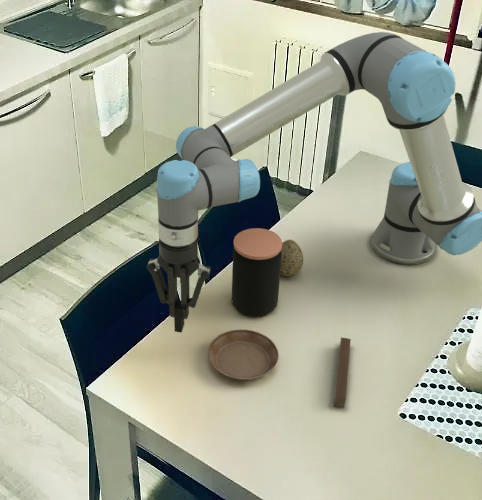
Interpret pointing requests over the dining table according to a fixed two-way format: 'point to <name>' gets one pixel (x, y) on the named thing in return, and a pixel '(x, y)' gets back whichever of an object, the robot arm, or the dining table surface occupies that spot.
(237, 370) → the saucer
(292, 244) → the decorative egg
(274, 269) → the coffee jar
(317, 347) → the dining table surface
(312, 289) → the dining table surface
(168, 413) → the dining table surface
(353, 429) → the dining table surface
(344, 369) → the walnut batten
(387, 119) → the robot arm
